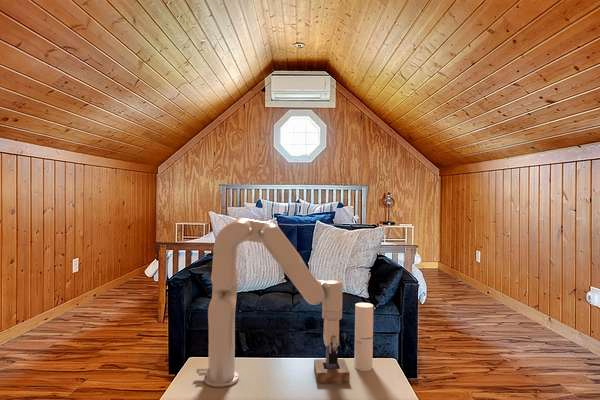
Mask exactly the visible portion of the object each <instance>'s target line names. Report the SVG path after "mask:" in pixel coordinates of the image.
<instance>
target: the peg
mask: <svg viewBox="0 0 600 400" xmlns="http://www.w3.org/2000/svg"><path fill="white" fill-rule="evenodd" d="M330 345H333V344H330ZM332 348H333V347H331V349H332ZM329 353H330V350H329V346H325V359H326V369H336V366H337V364H329Z"/></svg>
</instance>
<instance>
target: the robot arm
mask: <svg viewBox="0 0 600 400" xmlns="http://www.w3.org/2000/svg"><path fill="white" fill-rule="evenodd" d="M246 241H247V242H253V243H260V244H262V245H263V247H265V248H264V249H266V250H267V252H268V253H269V254H270V255H271V257H272V258H273V260H274V261H275V262H276V264H278V267H280V269H281V270H282V272H283V273H284V274H285V275H286V276H287V278H288V279H289V280H290V282H291V283H292V284H293V286H295V287H294V288H296V289H297V290H298V292H299V294H300V295H301V296H302V297H303V299H304V300H305V301H306V302H307V303H308V304H309V305H313V306H316V305H320V304H321V303H322V304H321V305H322V306H321V310H322V311H321V318H322V319H323V331H322V332H323V333H322V334H323V335H322V336H323V337H322V338H323V344H324V346H325V347H326V346H329V350H330V353H329V364H337V363H338V359H339V358H338V357H339V356H338V355H339V354H338V353H339V352H338V347H339V345H340V344H339V343H340V320H341V319H343V283H342V282H341V281H340V280H337V279H329V280H321V279H320V280H319V279H316V278H315V276H314V275H313V273H312V272H311V271H310V269H309V268H308V266H307V265H306V263H305V261H304V260H303V258H302V256H301V254H300V253H299V252H298V251H297V250H296V248H295V246H294V245H293V244H292V243H291V241H290V240H289V239H288V237H287V236H286V234H285V233H284V232H283V230H281V228H280V226H279V225H277V224H275V223H273V222H266V221H260V220H255V219H250V218H245V217H243V218H242V217H240V218H237V219H234V220H233V221H232V222H229V223H228V224H226V226H224V227H222V229H221V230H219V231H218V234H217V235H216V237H215V240H214V242H213V243H214V245H213V253H212V255H213V256H212V267H211V268H212V269H211V275H210V280H211V284H212V288H211V289H212V290H211V291H212V293H211V299H210V302H209V305H208V309H207V319H208V321H207V323H208V366H205V367H197V368H196V370H195V371H196V374H198V376H200V377H201V376H202V377H204V378H203V382H204V384H205V385H207V386H210V387H214V388H225V387H230V386H232V385H234V384H236V383H237V382H238V381H239V378H240V377H239V376H240V375H239V372H237V371H236V370H235V364H236V363H235V361H236V360H235V358H236V357H235V355H236V352H235V350H236V309H237V308H236V307H237V295H238V294H237V293H238V274H239V272H238V269H237V254H238V248H239V246H240V244H242V243H245V242H246ZM330 344H333V345H330ZM331 347H333V348H332V349H331Z"/></svg>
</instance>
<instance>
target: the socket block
mask: <svg viewBox="0 0 600 400" xmlns="http://www.w3.org/2000/svg"><path fill="white" fill-rule="evenodd" d="M313 373H314V376H315V380H316V384H317V385H318V384H321V385H322V384H329V385H330V384H350V378H351V377H350V373H351V372H350V370H349V368H348V365H347V362H346V360H345V359H344V358H342V359H340V358H338V363H337V366H336V369H326V358H324V359H314V360H313Z"/></svg>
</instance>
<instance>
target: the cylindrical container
mask: <svg viewBox="0 0 600 400" xmlns="http://www.w3.org/2000/svg"><path fill="white" fill-rule="evenodd" d="M354 305H355V306H354V307H355V309H354V310H355V311H354V361H353V362H354V366H353V367H354V369H356V370H358V371H362V372H365V371H366V372H367V371H371V370H372V369H373V353H374V352H373V346H374V344H373V342H374V304H372V303H370V302H357V303H355V304H354Z"/></svg>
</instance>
